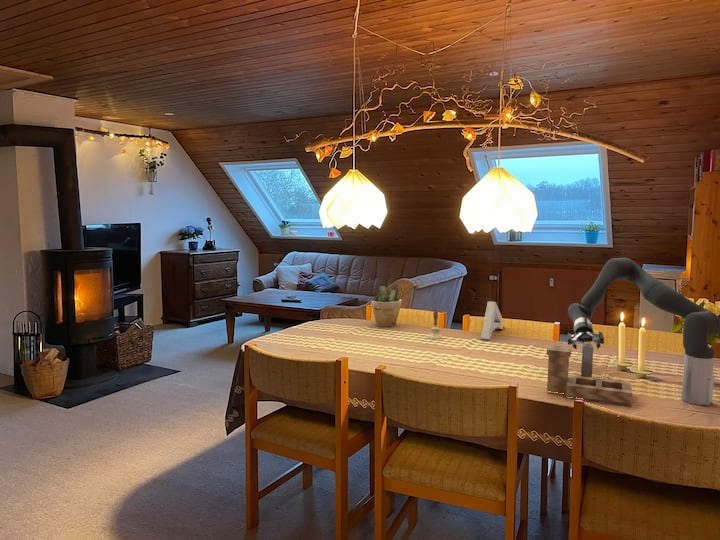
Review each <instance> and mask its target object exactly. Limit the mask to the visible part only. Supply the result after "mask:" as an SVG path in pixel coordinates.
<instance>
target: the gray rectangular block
mask: <svg viewBox="0 0 720 540" xmlns="http://www.w3.org/2000/svg"><path fill="white" fill-rule="evenodd" d="M594 344H595V343H594ZM594 344H593V343H582V347H581V349H582V351H581V352H582V353H581V368H580V369H581V371H580V372H581V373H580V376H583V377H591V378H593V364H594V363H593V362H594Z"/></svg>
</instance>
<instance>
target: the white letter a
mask: <svg viewBox="0 0 720 540" xmlns="http://www.w3.org/2000/svg"><path fill="white" fill-rule="evenodd" d="M486 303H487V305H486V308H485V309H486V310H485V313H484V318H483V324H482V325H483V326H482V331H481V334H480V341H481V340H484V341H490V340H491V337H492V334H493V332H494V331H495V329H501V325H502V322H503V321H504V320H503V321H502V319H503V317H502V314H501V312H500V308H499V306H498V304H497V302H496V301H491V300H490V301H487V302H486Z"/></svg>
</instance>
